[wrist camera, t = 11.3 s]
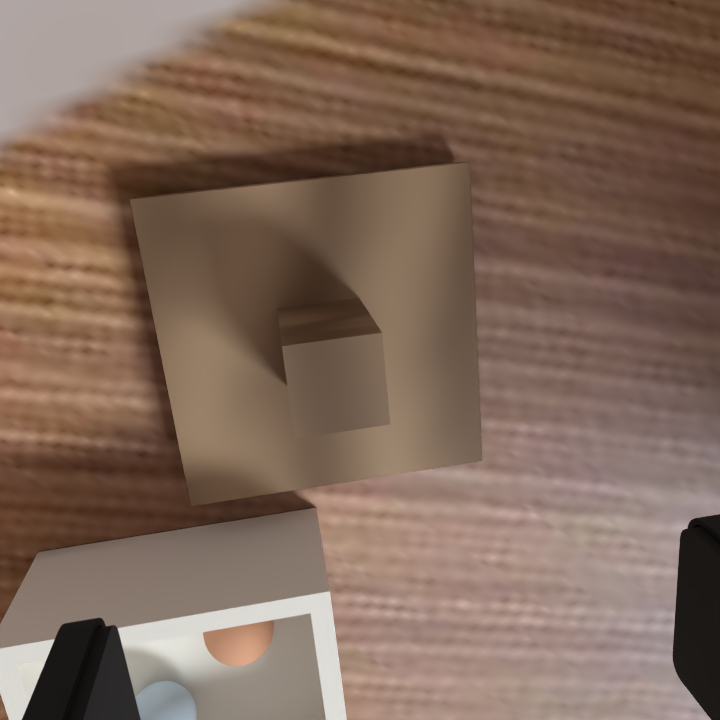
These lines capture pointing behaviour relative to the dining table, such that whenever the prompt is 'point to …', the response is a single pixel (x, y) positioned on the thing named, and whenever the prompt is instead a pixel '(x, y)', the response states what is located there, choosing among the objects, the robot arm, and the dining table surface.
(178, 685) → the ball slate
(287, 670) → the box
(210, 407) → the lid
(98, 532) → the dining table surface
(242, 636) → the ball terracotta
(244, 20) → the dining table surface
